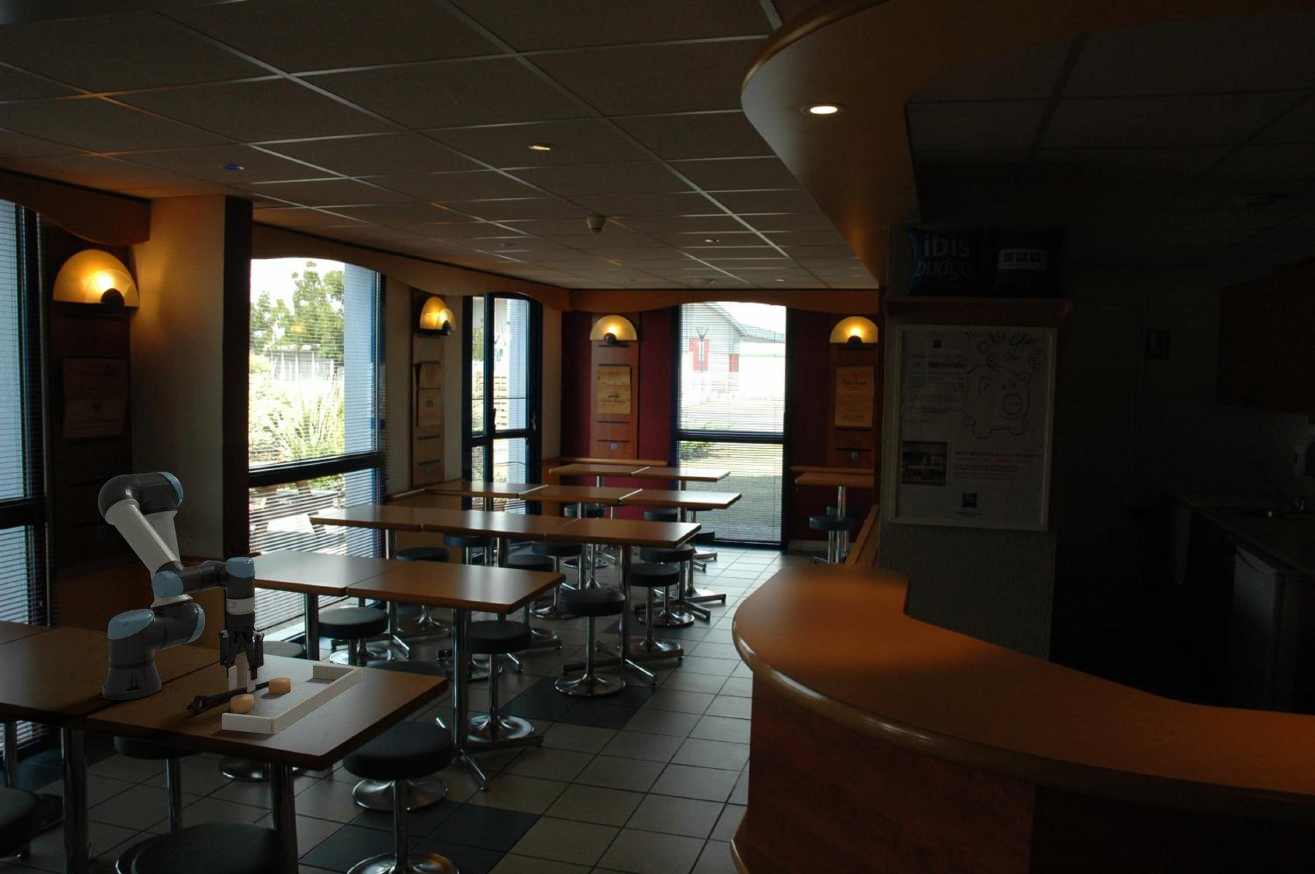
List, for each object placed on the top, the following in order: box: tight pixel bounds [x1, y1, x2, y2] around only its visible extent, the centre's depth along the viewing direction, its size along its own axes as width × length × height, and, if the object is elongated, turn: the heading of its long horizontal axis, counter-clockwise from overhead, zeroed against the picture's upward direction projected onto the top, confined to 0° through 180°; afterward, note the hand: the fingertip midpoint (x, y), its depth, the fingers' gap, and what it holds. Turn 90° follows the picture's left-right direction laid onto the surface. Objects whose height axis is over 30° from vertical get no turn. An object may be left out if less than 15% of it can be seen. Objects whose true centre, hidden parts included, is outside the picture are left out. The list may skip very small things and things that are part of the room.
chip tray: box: [221, 663, 362, 735], centre depth 260 cm, size 16×44×4 cm, turn 169°
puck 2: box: [268, 676, 292, 696], centre depth 269 cm, size 6×6×4 cm
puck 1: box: [230, 693, 255, 714], centre depth 254 cm, size 6×6×4 cm
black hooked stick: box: [185, 680, 270, 715], centre depth 261 cm, size 5×5×30 cm
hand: (242, 689), depth 263 cm, fingers open, 5 cm apart
